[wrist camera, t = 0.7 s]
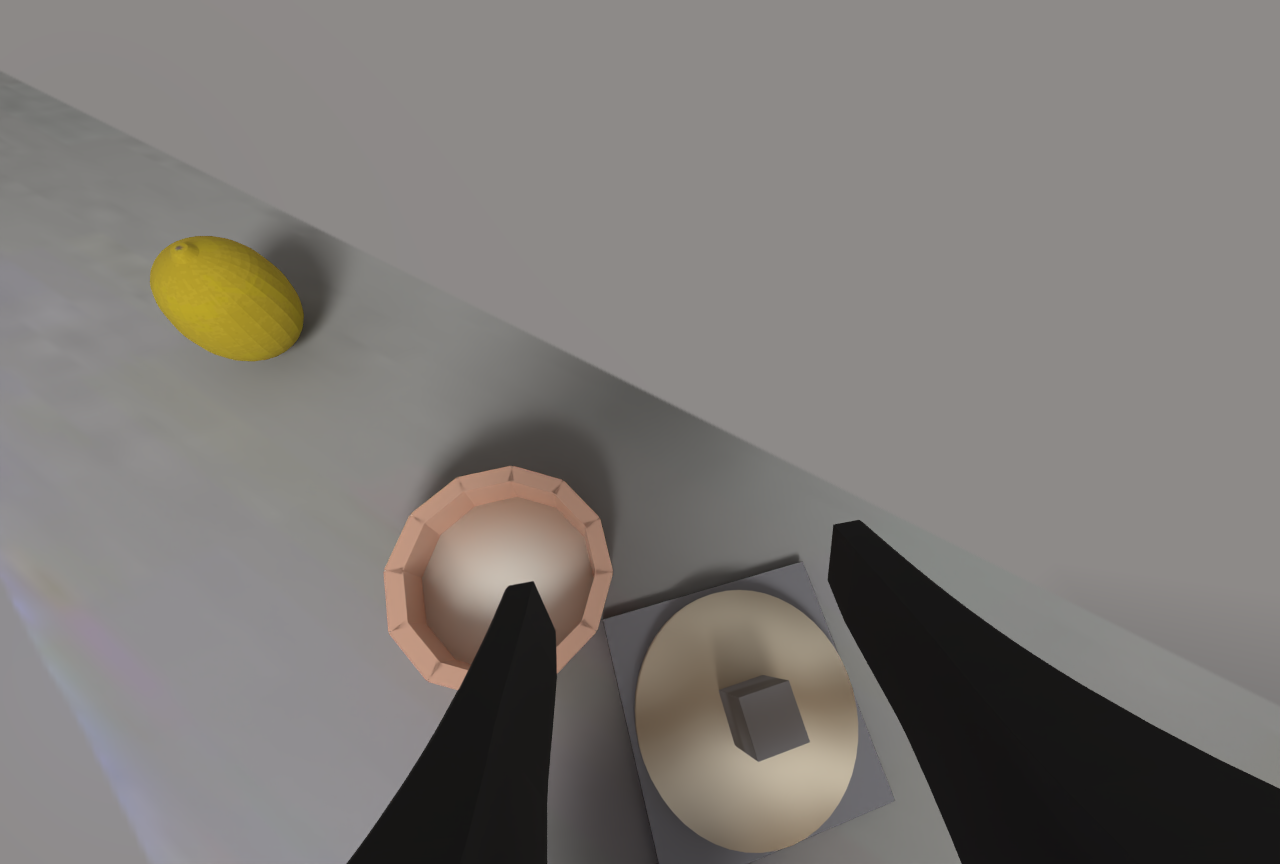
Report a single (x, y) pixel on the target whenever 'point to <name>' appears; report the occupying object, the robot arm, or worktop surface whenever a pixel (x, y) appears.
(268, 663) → the worktop surface
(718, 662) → the lid
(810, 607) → the mat
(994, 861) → the robot arm
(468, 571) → the bowl
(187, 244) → the lemon
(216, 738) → the worktop surface
